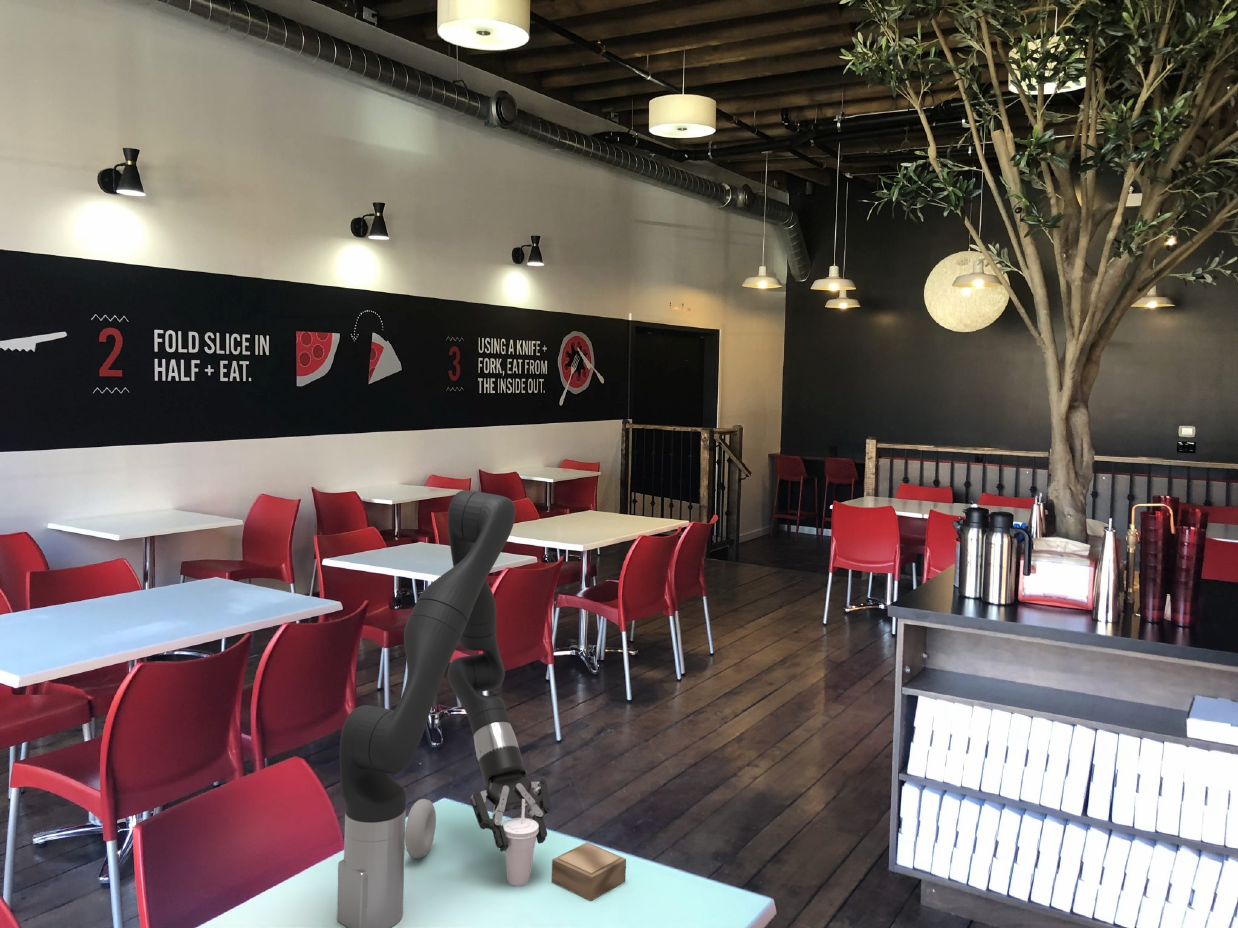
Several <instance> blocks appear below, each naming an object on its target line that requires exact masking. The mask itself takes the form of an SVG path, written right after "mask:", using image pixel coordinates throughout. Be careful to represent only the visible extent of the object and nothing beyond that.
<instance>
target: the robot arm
mask: <svg viewBox="0 0 1238 928" xmlns="http://www.w3.org/2000/svg"><path fill="white" fill-rule="evenodd" d="M515 518H516V505H515V503H514V502H513V501H512V499H510V497H509V498H508V497H507V496H503V495H499V494H493V493H487V492H482V491H476V490H469V489H468V490H467V489H466V490H465V489H463V490H460V491H458V492H456V493H455V495H454V496H453V497H452V499H451V501H450V503H449V506H448V511H447V535H448V540H449V547H450V553H451V554H450V555H451V560H452V566H453V567H452V568H451V569H449V570H447V571H446V572H444V573H443V574H442V575H440V576H439V577H437V578H436V579H435V580H433V581H432V582H431V583H430V584H428V586H427V587H425V589H424V590H423V591H422V592H420V594H419V596H418V598H417V600H416V602H415V605H414V606H413V609H412V611H411V612H410V614H409V617H408V618H407V621H406V624H405V626H404V631H403V646H404V653H405V658H406V659H405V660H406V669H407V670H406V671H407V673H406V674H407V677H406V683H405V686H404V689H403V692H402V694H401V697H400V700H399V702H398V704H397V706H396V708H395V709H390V708H385V707H381V706H380V707H379V706H375V705H366V704H363V705H360V706H356V708H354V709H353V710H352V711H350V713H349V714H348V715H347V718H346V719H345V721H344V724H343V726H342V730H341V733H340V739H339V741H340V742H339V768H340V776H339V777H340V793H341V797H342V801H343V803H344V842H343V843H344V844H343V845H344V846H343V848H344V849H343V859H341V860H339V862H338V864H337V901H336V902H337V905H336V906H337V907H336V921H337V922H339V923H340V924H342V925H343V926H345V927H347V928H392V927H393V926H395V925H397V924H398V923H399V922H400V921H401V919H402V918H403V915H404V884H405V883H404V882H405V855H406V854H405V850H406V849H405V848H406V844H405V830H406V821H407V820H406V819H407V818H406V816H407V814H406V813H407V809H406V808H407V794H406V791H405V789H404V787H402V785H401V784H400V783H398V782H397V781H395V780H394V778H392V777H391V776H390V775H389V774H391V775H393V774H399V773H401V772H403V771H404V770H406V768H407V767H408V766H409V765H410V763H411V762H412V761H413V760H414V757H415V755H416V753H417V751H418V748H419V747H420V743H421V741H422V739H423V735H424V732H425V729H426V726H427V723H428V720H429V717H430V714H431V711H432V708H433V705H434V702H435V699H436V697H437V693H438V692H439V689H440V685H441V683H442V681H443V678H444V676H445V673H446V671H447V679H448V683H449V686H450V687H451V689H452V692H453V693H454V695H455V696H456V697H457V700H458V702H459V703H460V704H461V705H462V708H463V709H464V712H465V714H466V715H467V718H468V721H469V725H470V728H471V732H472V735H473V736H472V737H473V741H474V749H475V753H476V754H475V755H476V759H477V760H478V764H479V769H480V772H481V775H482V779H483V784H484V786H485V787H484V788H485V789H484V790H482V791H480V790H475V791H474V792H473V794H472V795H471V797H470V798H469V801H470V804H471V807H472V809H473V811H474V815H475V818H476V820H477V824H478V826H479V828H480V829H481V830H485V829H487V830H490V831H492V836H493V838H494V839H493V840H494V843H495V846H496V847H497V849H498V850H500V852H501V853H502V852H505V851H506V850H507V848H508V842H507V838H506V834H505V831H504V827H503V825H502V820H503V817H504V814H505V813H506V812H509V811H511V810H515V811H516V810H520V811H522V799H525V815H527V816H528V817H529V819H532V820H534V821H536V822H537V823H538V825H539V832H538V834H537V835H536V841H537V843H538V844H539V845H540V844H543V843H544V842H545V841H546V839H547V837H548V830H547V827H546V824H545V820H544V818H546V817H547V815H548V814H549V813H550V812H551V811H552V805H551V800H550V794H549V790H548V789H549V788H548V785H547V781H546V779H545V778H541V779H539V780H537V781H531V780H530V779H529V778H528V776H527V772H526V768H525V763H524V760H523V757H522V754H521V750H520V748H519V743H518V740H517V737H516V734H515V732H514V729H513V726H512V725H511V721H510V716H509V714H508V711H507V707H506V704H505V701H504V700H503V699H502V698H501V697H500V696H499V697H498V696H494V695H485V694H481V693H483V692H488V691H493V690H497V689H498V688H499V687H501V685H503V683H504V681H505V677H506V676H505V675H506V671H505V666H504V663H503V660H502V657H501V653H500V649H499V646H498V641H497V605H496V599H495V596H494V593H493V591H492V589H491V587H490V584H489V582H488V581H487V578H488V576H489V574H490V573H491V571H492V569H493V567H494V565H495V563H496V562H497V560H498V559H499V556H500V555H501V552H502V551H503V549H504V547H505V545H506V543H507V542H508V539H509V537H510V536H511V532H512V530H513V527H514V524H515ZM458 645H460V646H461V647H462V648H464V649H466V650H470V651H478V652H479V651H480V652H483V653H477V654H471V655H466V656H460V657H456V658H454V659H452V657H453V655H454V653H455V651H456V649H457V647H458ZM451 660H452V661H451ZM531 790H532V792H533V794H534V795H536V797H537V802H538V803H537V802H536V800H535V799H534V797H532V795H531V794H530V792H531ZM487 800H489V802H490V803H491V804H493V805H494V806H493V810H492V815H491V818H490V815H489V811H488V809H487V807H486V804H485V803H486V801H487Z"/></svg>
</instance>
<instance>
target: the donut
mask: <svg viewBox="0 0 1238 928" xmlns="http://www.w3.org/2000/svg"><path fill="white" fill-rule="evenodd" d="M436 814H437V813H436V809H435V806H434V804H433V802H432V801H431V800H429V799H425V798H420V799H418V800H417V801H416V802H415V803H413V804H412V807H411V808H410V811H409V813H408V815H407V818H406V819H407V820H406V822H405V848H406V849H405V850H406V852H407V853H408V855H409V856H410V857H411V858H414V859H422V858H424V857H425V856H426V855H427V854H428V853H429V851H430V849H431V847H432V845H433V842H434V837H435V833H436V828H437V827H436V823H437V815H436Z"/></svg>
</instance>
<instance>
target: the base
mask: <svg viewBox="0 0 1238 928" xmlns="http://www.w3.org/2000/svg"><path fill="white" fill-rule="evenodd" d="M626 871H627V858H625V857H623V856H620V855H618V854H616V853H613V852H610V851H608V850H607V849H603V848H601V847H600V846H597V845H595V844H592V843H590V842H587V841H586V842H585V843H583V844H581V845H578V846H577V847H574V848H572V849H571V850H568V851H567V852H565V853H562V854H561V855H558V856H557V857H554V858H553V859H552V860H551V880H550V881H551V884H555V885H557V886H559V887H561V888H563V889H565V890H567V891H568V892H571V893H573V894H575V895H578V896H580V897H581V898H584V899H585V900H588V901H590V902H592V901H594V900H595V899H597V898H599V897H601V896H602V895H604V894H606V893H607V892H610V891H611V890H613V889H614V888H616V887H618V886H620V885H622V884H624V883H626V875H627V874H626ZM623 882H624V883H623Z"/></svg>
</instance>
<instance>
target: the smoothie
mask: <svg viewBox="0 0 1238 928" xmlns="http://www.w3.org/2000/svg"><path fill="white" fill-rule="evenodd" d="M525 815H526V814H525V799H522V810H521V814H520V817H514V818H510V819H507V820H505V821H504V822H503V823H501V825H503V827H504V831H505V834H506V838H507V842H508V848H507V850H506V851H504V856H505V865H506V866H505V868H506V877H507V882H508V884H509V885H512V886H516V887H517V886H518V887H519V886H525V885H527V884H529V883H530V877H531V870H532V865H533V859H534V852H535V847H536V841H537V838H536V835H537V834H538V832H539V825H538V823H537V822H536V821H534V820H532V819H531V818H528V817H525Z"/></svg>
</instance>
